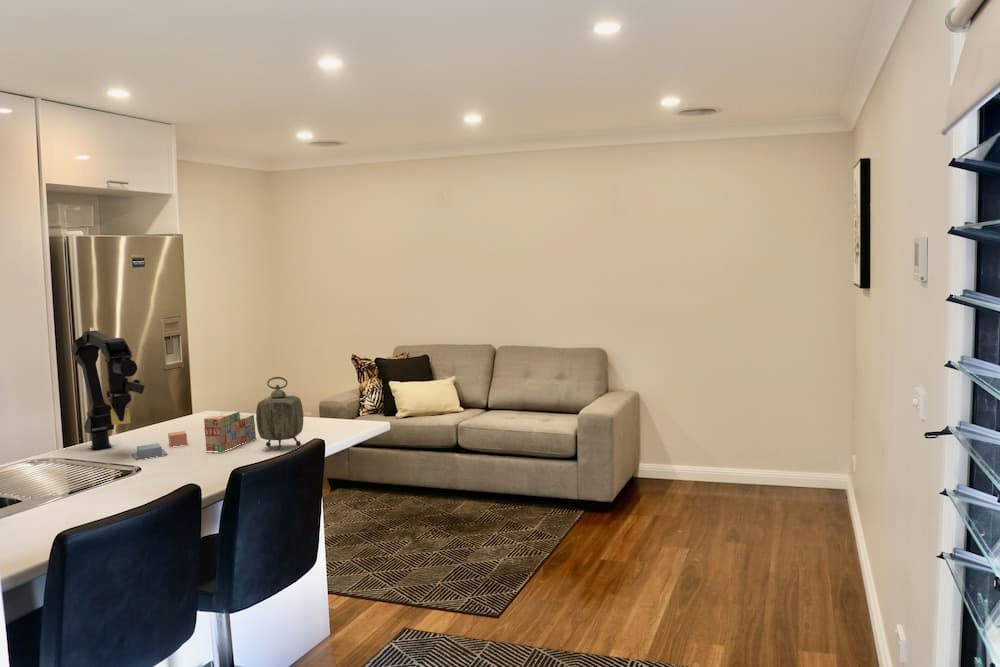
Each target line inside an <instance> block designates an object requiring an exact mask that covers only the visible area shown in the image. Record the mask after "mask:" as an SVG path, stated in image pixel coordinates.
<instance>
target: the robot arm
mask: <svg viewBox="0 0 1000 667" xmlns="http://www.w3.org/2000/svg"><path fill="white" fill-rule="evenodd" d="M100 350H101V351H100ZM100 352H101V353H102V354H103V356H104V358H105V360H104V362H105V363H106V372H107V378H106V379H107V383H108V389H107V390H106V398H108V399H107V400H108V402H109V404H107V402H106V401H105V399H104V394H103V390H102V386H101V380H100V376H99V372H98V366H97V361H98V360H99V359H98V358H99V356H100V355H99V354H100ZM71 354H72V356H73V359H74V361H75V362H76V363H77V364H78V365H79V366H80V367H81V368H82V369H81V370H82V374H83V379H84V384H85V388H86V393H87V396H88V402H89V408H88V411H87V413H86V416H87V417H86V420H85V423H84V426H83V428H84V432H85V433H87V434H90V438H91V439H90V440H91V445H90V449H91V451H95V450H96V451H97V450H103V449H110V448H112V444H111V443H110V437H109V436H110V434H109V431H112V430H114V429H115V425H113V424H112V422H111V411H110V410H115V412H116V414H117V416H118V418H119V420H120V421H123V420H124V414H125V408H127V405H128V404H129V403H131V401H132V395H131V393H130V392H132V393H136V394H137V393H138V394H141V395H143V393H144V390H145V387H146V385H145V384H143V383H141V381H140V379H133V380H132V381H131V380H129V378H131V377H133V376H135V375H136V373H137V371H138V365H137V363H136V362H135V361H134V360H132V357H133V354H132V351H131V349H130V347H129V345H128V343H127V341H126V340H125V338H123V337H110V336H108V335H105V334H103V333H101V332H100V331H99V330H88V331H87V330H86V331H85V332H82V335H81V336H79V337H78V338H77V339H75V340H74V341H73V343H72V346H71Z"/></svg>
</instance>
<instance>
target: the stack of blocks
mask: <svg viewBox="0 0 1000 667" xmlns="http://www.w3.org/2000/svg"><path fill="white" fill-rule="evenodd" d="M203 423H204V437H205V447H206V448H205V450H206V451H218V452H222V451H225V450H227V449H230V448H233V447H235V446H237V445H239V444H242V443H245V442H247V443H249V442H248V441H250V442H252V441H254V440H253V439H255V440H257V437H256V436H257V432H256V424H255V423H256V422H255V414H240V411H235V410H233V411H226V410H224V411H221V412H219V413H214V414H213V415H210V416H208V417H204V418H203ZM251 440H252V441H251ZM245 444H246V443H245ZM242 445H243V444H242ZM233 449H234V448H233ZM225 452H226V451H225Z"/></svg>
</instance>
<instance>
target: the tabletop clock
mask: <svg viewBox="0 0 1000 667" xmlns="http://www.w3.org/2000/svg"><path fill="white" fill-rule="evenodd" d="M273 380H283V381H284V382H285V385H284V386H283V385H282V386H280V385H279V384H276V386H271V385H270V384H269V383H270V381H273ZM267 386H268V387H269V388H270V389H272V390H273V391H272V392H271V393H270V396H268V397H266V398H264V399H262V400H261V401H259V402H258V403H257V405H256V409H255V410H256V413H255V414H256V415H255V417H256V418H255V423H256V426H257V427H256V429H257V432H258V435H259V437H260V439H263V440H266V441H267V442H266V443H265V446H266V447H270V446H271V441H278V445H277V450H282V449H283V445H282V444H281V442H282V441H285V440H291V439H293V440H294V441H295V442H296V443H295V444H296V446H300V445H302V444H301V441H300V440H298V439H297V436H299V435H300V434H301V433H302V431H303V428H304V409H303V403H302V401H301V398H300V397H298V396H296V395H288V394H286V392H285V390H282V389H284V388H286V387H287V386H288V380H287V379H286V378H285V377H282V376H274V377H271V378H269V379H268V380H267Z"/></svg>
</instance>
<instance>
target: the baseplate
mask: <svg viewBox="0 0 1000 667" xmlns="http://www.w3.org/2000/svg"><path fill="white" fill-rule="evenodd" d="M131 455H132V457H133V456H134V457H133V458H134V460H135V461H139V460H138V459H142V460H146V459H145V458H148V459H151V458H150V457H155V458H157V457H156V456H162V455H168V453H167V452H166V450H165V449H163V448H162V446H161V445H160V444H159V443H151V444H145V445H144V444H143V445H137V446H136V452H135V451H134V452H132V453H131ZM162 457H163V456H162Z"/></svg>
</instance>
